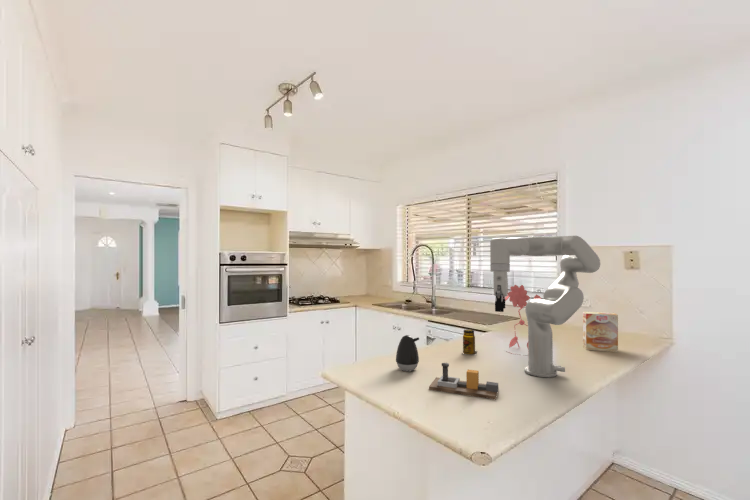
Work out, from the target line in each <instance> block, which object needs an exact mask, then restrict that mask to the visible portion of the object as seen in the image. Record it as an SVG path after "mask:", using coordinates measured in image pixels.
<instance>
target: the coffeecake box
mask: <svg viewBox="0 0 750 500" xmlns="http://www.w3.org/2000/svg"><path fill="white" fill-rule="evenodd" d="M582 347H583V348H584V349H585V350H586V351H595V352H596V351H599V352H612V353H613V352H614V353H618V352H619V315H618V314H617V313H614V312H603V311H602V312H601V311H599V312H597V311H582Z"/></svg>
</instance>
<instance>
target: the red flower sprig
mask: <svg viewBox="0 0 750 500" xmlns="http://www.w3.org/2000/svg"><path fill="white" fill-rule="evenodd" d="M509 289H510V291H508V295H507V296H506V297H505V302H506V301H507V300H508V299H509V302H511V303H512V306H513V307H514V308H519V309H518V316H519V318H520V320H519V322H517V323H515V325H514V327H513V328H514V329H516V326H518V325H521V326H526V327H528V324H526V323H525V321H524V320H523V319H522V316H521V313H520V311H521V310H522V309H523V308H526V305H527V303H528V302H529V301H530V299H531V297H530V296H529V295H528V290H526V289H525V287H524V285H523V284H521V285H520V286H519V285H517V284H514V286H513V285H511V286H510V287H509ZM533 299H542V297H541V296H540V295H538V294H535V295H534V296H533ZM516 334H517V333H516V332H514V337H513V338H511V340H510V341H509V344H508V347H509V348H512V347H514V346H515V345H516V344H517V347H518V348H520V345H519V342H518V340H519V339H518V338H519V337H518V336H516ZM526 347H527V349H528V342H526ZM507 353H509V354H513V355H514V353H513V352H510V351H509V352H508V351H507ZM516 355H519V356H520V354H518V353H516ZM524 356H527V357H528V355H526V354H524Z"/></svg>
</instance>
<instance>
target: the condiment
mask: <svg viewBox="0 0 750 500" xmlns="http://www.w3.org/2000/svg"><path fill="white" fill-rule="evenodd" d="M462 352H463V353H464V354H463V355H466V356H477V353H478V351H477V350H476V336H475V330H474V329H472V328H471V329H470V328H468V329H467V328H466V329H464V330H463V334H462Z"/></svg>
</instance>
